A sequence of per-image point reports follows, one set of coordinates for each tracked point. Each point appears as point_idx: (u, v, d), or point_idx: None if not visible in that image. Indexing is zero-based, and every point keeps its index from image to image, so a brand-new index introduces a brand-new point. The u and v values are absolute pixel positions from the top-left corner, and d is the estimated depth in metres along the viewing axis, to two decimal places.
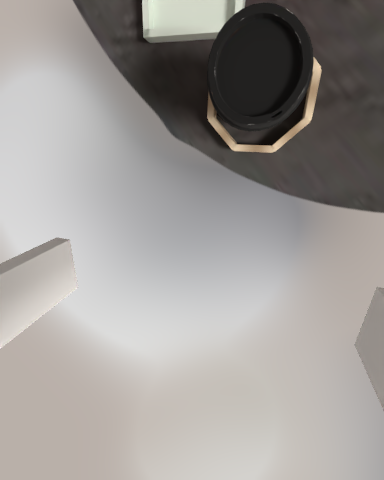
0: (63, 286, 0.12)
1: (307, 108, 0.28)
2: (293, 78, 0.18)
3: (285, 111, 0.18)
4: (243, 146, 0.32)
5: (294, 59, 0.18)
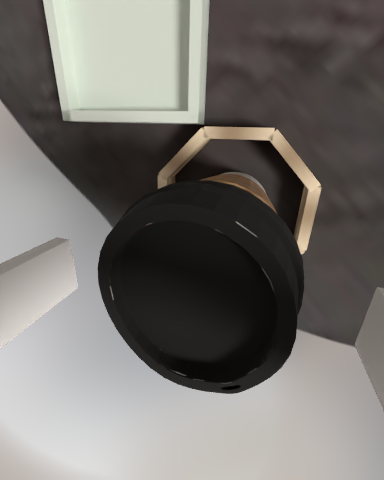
0: (63, 286, 0.12)
1: (300, 235, 0.19)
2: (262, 327, 0.09)
3: (247, 387, 0.09)
4: None
5: (263, 297, 0.08)
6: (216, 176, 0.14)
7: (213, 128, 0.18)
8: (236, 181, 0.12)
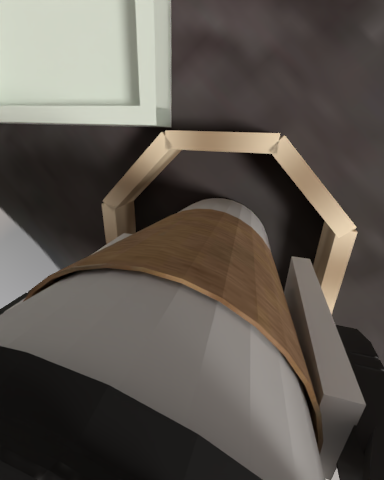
0: None
1: None
2: None
3: None
4: None
5: None
6: (169, 226, 0.07)
7: (180, 133, 0.11)
8: (196, 257, 0.05)
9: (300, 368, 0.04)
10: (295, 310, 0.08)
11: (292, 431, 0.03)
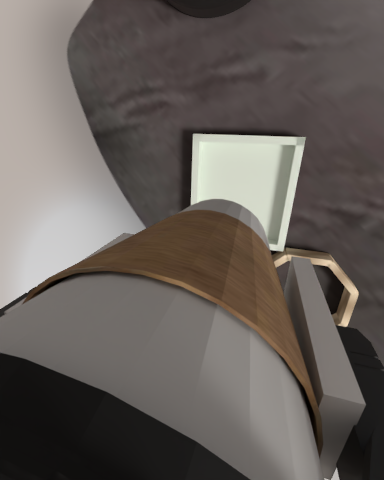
0: None
1: (343, 317, 0.31)
2: None
3: None
4: None
5: None
6: (169, 227, 0.07)
7: (293, 256, 0.30)
8: (196, 259, 0.05)
9: (300, 371, 0.04)
10: (295, 310, 0.08)
11: (292, 436, 0.03)
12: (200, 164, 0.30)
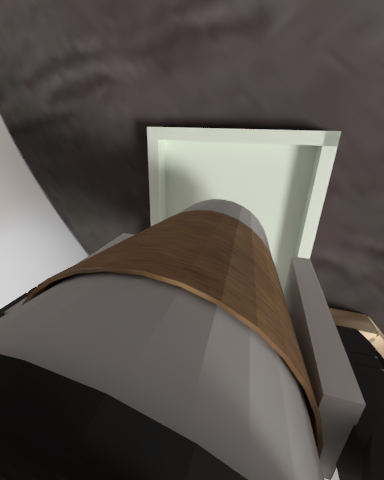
0: None
1: None
2: None
3: None
4: None
5: None
6: (169, 228, 0.07)
7: None
8: (195, 260, 0.05)
9: (300, 372, 0.04)
10: (295, 310, 0.08)
11: (292, 437, 0.03)
12: (163, 176, 0.19)
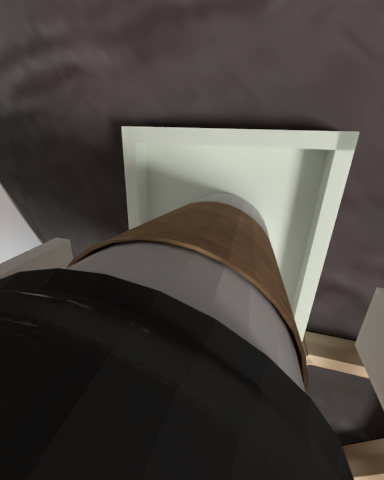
0: None
1: None
2: None
3: None
4: None
5: None
6: (181, 213, 0.09)
7: (320, 358, 0.16)
8: (206, 234, 0.06)
9: (289, 318, 0.06)
10: None
11: (279, 351, 0.04)
12: (144, 185, 0.16)
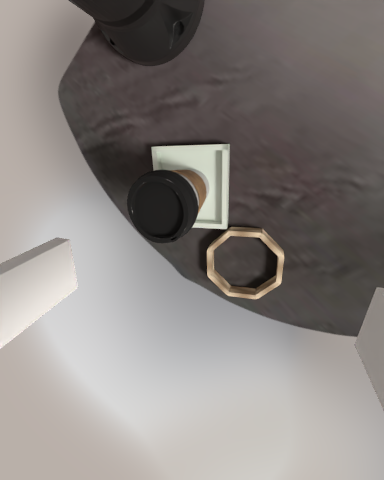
0: (63, 286, 0.12)
1: (277, 276, 0.40)
2: (181, 215, 0.27)
3: (178, 236, 0.27)
4: (234, 293, 0.44)
5: (180, 204, 0.27)
6: None
7: (233, 231, 0.39)
8: (178, 170, 0.30)
9: (193, 183, 0.30)
10: None
11: (188, 183, 0.28)
12: (160, 168, 0.40)
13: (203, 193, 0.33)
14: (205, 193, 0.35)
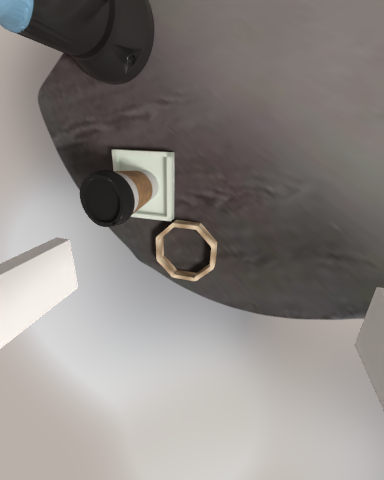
0: (63, 286, 0.12)
1: (210, 262, 0.49)
2: (120, 206, 0.36)
3: (117, 222, 0.36)
4: (178, 276, 0.53)
5: (119, 198, 0.35)
6: None
7: (176, 223, 0.48)
8: (124, 171, 0.39)
9: (134, 182, 0.38)
10: None
11: (128, 182, 0.37)
12: (119, 167, 0.48)
13: (146, 190, 0.42)
14: (150, 190, 0.44)
